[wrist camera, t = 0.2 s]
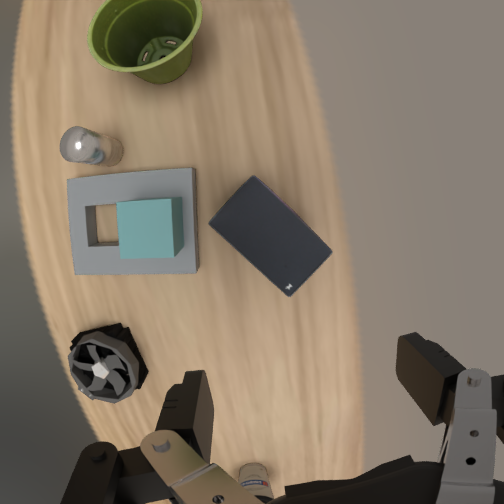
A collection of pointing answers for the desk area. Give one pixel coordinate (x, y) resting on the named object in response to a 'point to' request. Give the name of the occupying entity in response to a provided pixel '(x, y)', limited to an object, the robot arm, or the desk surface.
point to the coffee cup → (256, 481)
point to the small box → (270, 236)
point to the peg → (90, 147)
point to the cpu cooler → (107, 363)
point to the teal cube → (150, 228)
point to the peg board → (123, 189)
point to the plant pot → (145, 37)
